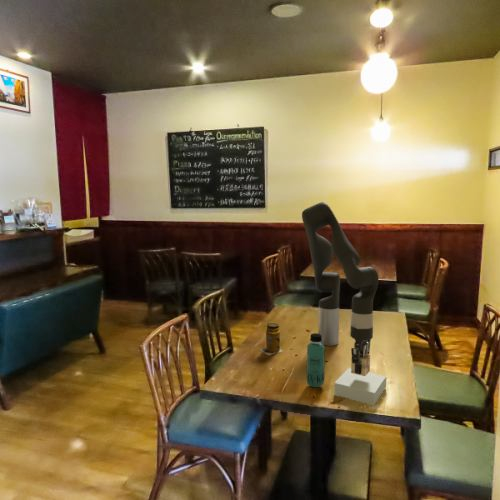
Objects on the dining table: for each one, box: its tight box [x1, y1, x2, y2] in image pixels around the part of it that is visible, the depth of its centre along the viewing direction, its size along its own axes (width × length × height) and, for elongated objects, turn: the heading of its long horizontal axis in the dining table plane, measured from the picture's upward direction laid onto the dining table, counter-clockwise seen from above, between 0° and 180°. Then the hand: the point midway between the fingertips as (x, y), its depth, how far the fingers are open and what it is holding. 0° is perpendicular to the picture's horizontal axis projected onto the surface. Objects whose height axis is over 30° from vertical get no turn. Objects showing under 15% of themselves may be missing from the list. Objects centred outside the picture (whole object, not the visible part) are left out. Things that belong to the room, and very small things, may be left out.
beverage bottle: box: [306, 332, 326, 388], centre depth 152 cm, size 6×7×20 cm
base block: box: [334, 367, 387, 406], centre depth 149 cm, size 14×14×5 cm
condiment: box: [259, 322, 284, 356], centre depth 187 cm, size 7×8×12 cm
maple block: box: [350, 354, 371, 376], centre depth 148 cm, size 5×5×6 cm
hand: (360, 370), depth 148 cm, fingers closed on maple block, 5 cm apart
